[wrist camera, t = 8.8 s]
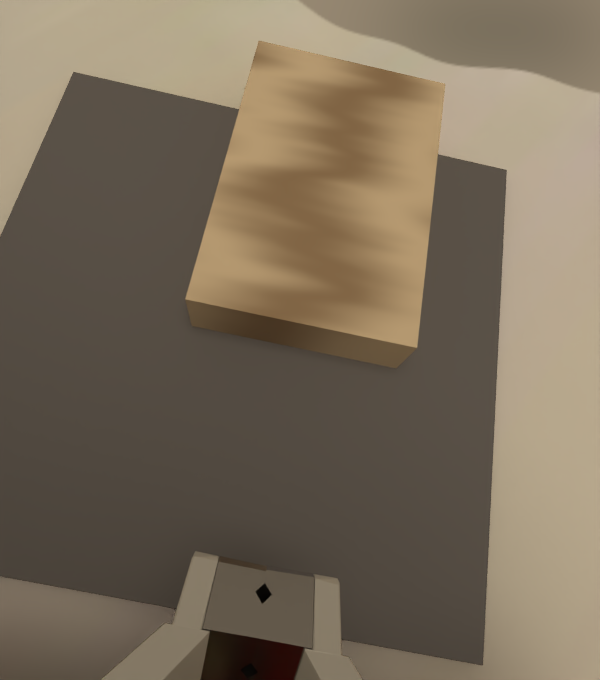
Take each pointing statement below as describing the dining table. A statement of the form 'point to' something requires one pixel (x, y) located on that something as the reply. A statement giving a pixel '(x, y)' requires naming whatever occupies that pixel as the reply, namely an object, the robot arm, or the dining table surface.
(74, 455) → the rubber mat
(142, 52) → the dining table surface
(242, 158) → the beech tile
